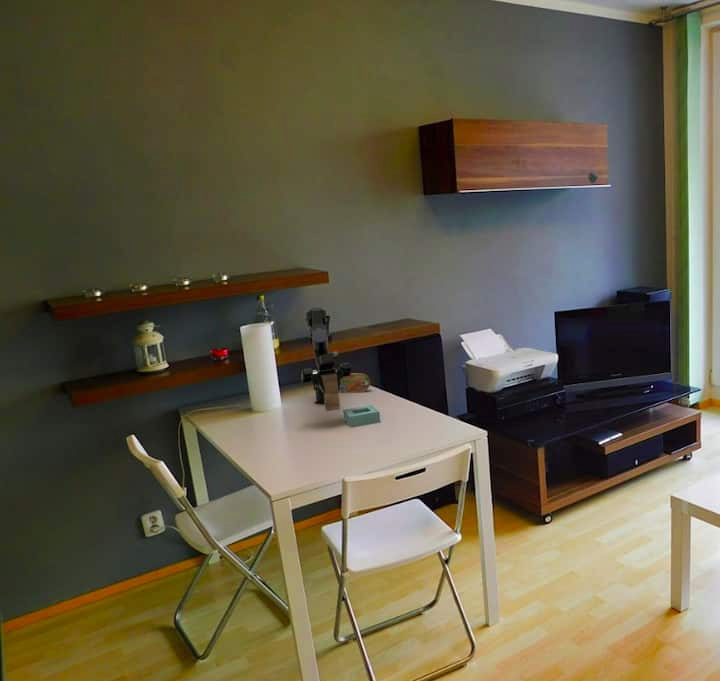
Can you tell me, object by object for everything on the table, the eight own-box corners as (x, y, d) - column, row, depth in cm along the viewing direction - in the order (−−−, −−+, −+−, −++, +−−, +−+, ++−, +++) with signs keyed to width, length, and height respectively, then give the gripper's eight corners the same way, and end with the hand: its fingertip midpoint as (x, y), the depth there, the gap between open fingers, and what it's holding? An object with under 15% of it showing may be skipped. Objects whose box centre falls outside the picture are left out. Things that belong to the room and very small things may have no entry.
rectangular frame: (344, 419, 233) (343, 409, 232) (372, 415, 236) (371, 405, 235) (350, 427, 224) (349, 416, 223) (380, 421, 227) (379, 411, 226)
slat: (325, 409, 227) (321, 375, 224) (338, 407, 228) (335, 373, 226) (326, 411, 224) (323, 377, 221) (340, 409, 225) (336, 375, 223)
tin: (337, 393, 272) (335, 374, 270) (339, 391, 275) (337, 372, 273) (370, 392, 268) (368, 373, 267) (371, 390, 271) (370, 372, 270)
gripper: (299, 348, 223) (308, 384, 215) (348, 341, 228) (359, 376, 219) (297, 364, 232) (306, 400, 223) (345, 358, 237) (355, 392, 228)
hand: (331, 391), depth 223 cm, fingers closed on slat, 5 cm apart
